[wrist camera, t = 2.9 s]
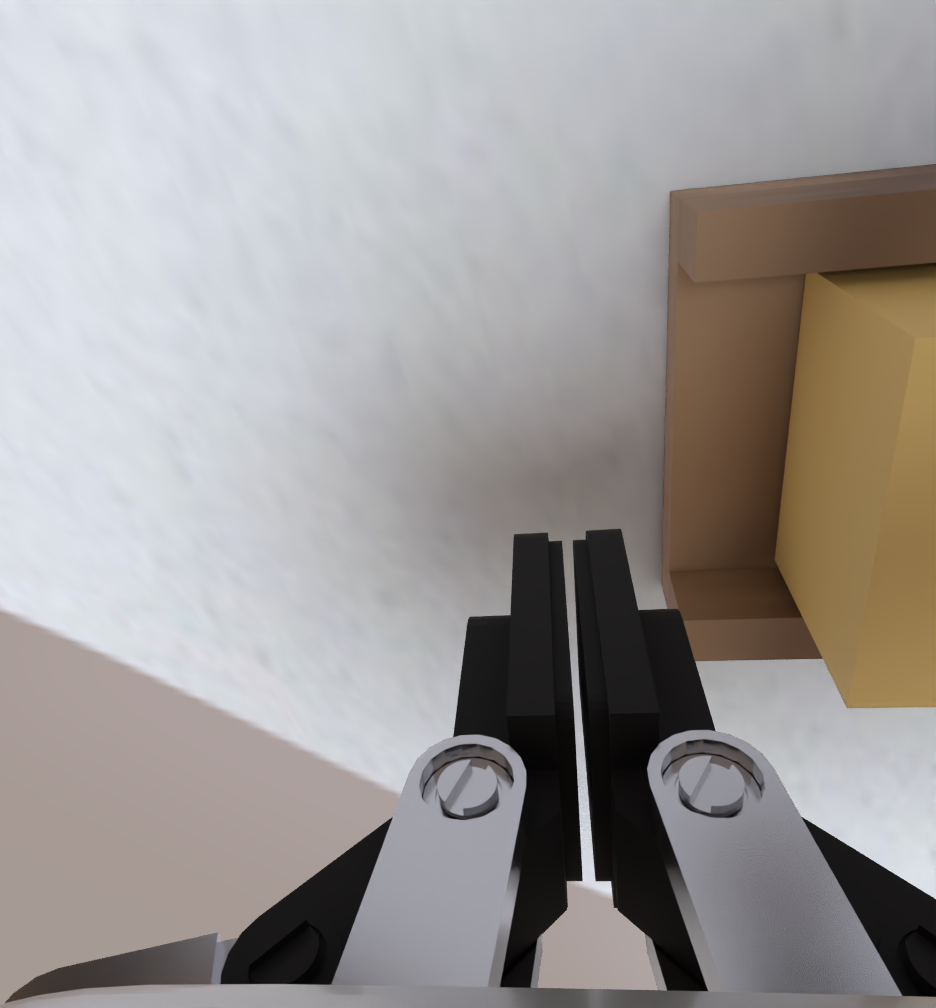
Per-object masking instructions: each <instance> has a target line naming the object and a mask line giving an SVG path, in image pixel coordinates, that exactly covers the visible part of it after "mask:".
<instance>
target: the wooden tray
mask: <svg viewBox="0 0 936 1008" xmlns="http://www.w3.org/2000/svg"><path fill="white" fill-rule="evenodd" d="M924 263H936V164H933V165H923V166H913V167H904V168H894V169H884V170H874V171H864V172H854V173H845V174H835V175H825V176H815V177H805V178H795V179H786V180H776V181H766V182H756V183H746V184H736V185H727V186H717V187H707V188H697V189H687V190H677V191H671V192H670V236H669V280H668V324H667V368H666V413H665V457H664V501H663V545H662V587H663V591H664V596H665V600H666V604H667V608H668V609H678V610H679V611H680V613H681V616H682V619H683V622H684V626H685V629H686V632H687V636H688V639H689V643H690V646H691V649H692V653H693V656H694V660H695V661H722V660H775V659H823V658H822V656H821V654H820V652H819V650H818V648H817V646H816V644H815V641H814V639H813V637H812V635H811V633H810V631H809V629H808V627H807V625H806V623H805V621H804V619H803V617H802V615H801V613H800V611H799V609H798V607H797V605H796V603H795V601H794V599H793V597H792V595H791V592H790V590H789V588H788V586H787V584H786V582H785V580H784V578H783V576H782V574H781V572H780V570H779V568H778V566H777V564H776V562H775V552H776V543H777V534H778V524H779V515H780V506H781V497H782V488H783V479H784V469H785V460H786V451H787V442H788V433H789V424H790V414H791V405H792V396H793V387H794V378H795V369H796V359H797V350H798V341H799V332H800V323H801V314H802V304H803V295H804V286H805V277H806V274H807V273H819V272H830V271H842V270H854V269H866V268H877V267H889V266H901V265H913V264H924Z"/></svg>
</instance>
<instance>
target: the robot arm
mask: <svg viewBox="0 0 936 1008" xmlns="http://www.w3.org/2000/svg"><path fill="white" fill-rule="evenodd" d="M573 557H574V579H575V601H576V623H577V645H578V667H579V685H580V699H581V711H582V723H583V735H584V747H585V759H586V771H587V783H588V796H589V808H590V820H591V832H592V844H593V856H594V868H595V879H596V881H611V884H612V894H613V903H614V908H618V911H619V912H621V913H622V914H623V915H624V916H625V917H627V918H628V919H629V920H630V921H631V922H632V923H633V924H634V925H636V926H637V927H638V928H639V929H640V930H641V931H643V932H644V933H645V938H646V946H647V953H648V956H649V960H650V964H651V967H652V971H653V974H654V978H655V981H656V985H657V988H658V990H613V989H612V990H611V989H560V988H537V986H538V979H539V971H540V965H541V957H542V934H543V933H544V932H545V931H546V930H547V929H548V928H549V927H550V926H551V925H552V924H553V923H554V922H555V921H556V920H557V919H558V918H559V917H560V916H561V915H562V914H563V913H564V912H565V911H566V910H567V907H568V903H567V881H582V861H581V841H580V822H579V802H578V783H577V763H576V744H575V725H574V708H573V693H572V678H571V664H570V650H569V635H568V621H567V607H566V592H565V578H564V564H563V549H562V541H551V542H549V540H548V533H532V534H514V546H513V570H512V594H511V615H506V616H481V617H469V619H468V624H467V631H466V639H465V647H464V655H463V663H462V671H461V679H460V688H459V696H458V704H457V712H456V720H455V728H454V736H453V738H449V739H445V740H443V741H441V742H439V743H438V744H436V745H434V746H432V747H430V748H429V749H428V750H427V751H426V752H424V753H423V754H422V755H421V756H420V757H419V758H418V759H417V760H416V762H415V764H414V766H413V767H412V769H411V771H410V773H409V775H408V778H407V780H406V783H405V786H404V789H403V791H402V794H401V797H400V799H399V802H398V805H397V808H396V810H395V813H394V816H393V817H392V818H391V819H389V820H388V821H387V822H385V823H384V824H382V825H381V826H380V827H378V828H377V829H376V830H375V831H373V832H372V833H370V834H369V835H368V836H366V837H365V838H364V839H362V840H361V841H360V842H358V843H357V844H356V845H354V846H353V847H352V848H350V849H349V850H348V851H346V852H345V853H344V854H342V855H341V856H340V857H338V858H337V859H336V860H334V861H333V862H332V863H330V864H329V865H328V866H326V867H325V868H324V869H322V870H321V871H320V872H318V873H317V874H316V875H314V876H313V877H312V878H310V879H309V880H307V881H306V882H305V883H303V884H302V885H301V886H299V887H298V888H297V889H295V890H294V891H293V892H291V893H290V894H289V895H287V896H286V897H285V898H283V899H282V900H281V901H279V902H278V903H277V904H275V905H274V906H273V907H271V908H270V909H269V910H267V911H266V912H265V913H263V914H262V915H261V916H259V917H258V918H257V919H256V920H255V921H254V922H253V923H252V924H251V925H250V926H248V927H247V929H245V930H244V931H243V932H242V933H241V935H240V936H239V938H235V939H230V940H225V941H221V938H220V936H219V934H218V933H213V934H209V935H204V936H200V937H196V938H191V939H186V940H182V941H178V942H173V943H168V944H164V945H160V946H155V947H151V948H146V949H142V950H137V951H133V952H128V953H124V954H119V955H115V956H111V957H106V958H102V959H97V960H92V961H88V962H84V963H79V964H75V965H71V966H66V967H61V968H58V969H55V970H53V971H50V972H48V973H45V974H43V975H40V976H37V977H36V978H34V979H33V980H31V981H30V982H29V983H27V984H26V985H24V986H23V987H21V988H20V989H19V990H17V991H16V992H14V993H13V994H12V995H11V996H10V998H9V999H8V1000H7V1001H6V1002H5V1003H4V1004H0V1008H936V899H934V898H933V897H931V896H930V895H928V894H926V893H925V892H923V891H921V890H920V889H918V888H917V887H915V886H913V885H912V884H910V883H908V882H907V881H905V880H904V879H902V878H900V877H899V876H897V875H895V874H894V873H892V872H890V871H889V870H887V869H886V868H884V867H882V866H881V865H879V864H877V863H876V862H874V861H873V860H871V859H869V858H868V857H866V856H864V855H863V854H861V853H860V852H858V851H856V850H855V849H853V848H851V847H850V846H848V845H847V844H845V843H843V842H842V841H840V840H838V839H837V838H835V837H834V836H832V835H830V834H829V833H827V832H825V831H824V830H822V829H821V828H819V827H817V826H816V825H814V824H812V823H811V822H809V821H808V820H806V819H804V818H803V817H801V816H800V814H799V812H798V810H797V809H796V807H795V805H794V803H793V801H792V800H791V798H790V796H789V794H788V793H787V791H786V789H785V787H784V786H783V784H782V782H781V780H780V778H779V777H778V775H777V773H776V771H775V770H774V768H773V767H772V765H771V764H770V763H769V762H768V760H767V759H766V758H765V756H764V755H763V754H762V753H761V752H759V751H758V750H757V749H755V748H754V747H753V746H751V745H750V744H749V743H747V742H745V741H743V740H741V739H739V738H736V737H734V736H732V735H730V734H726V733H721V732H716V731H715V728H714V724H713V721H712V717H711V714H710V711H709V707H708V704H707V700H706V697H705V694H704V690H703V687H702V683H701V680H700V677H699V673H698V670H697V666H696V663H695V660H694V656H693V653H692V649H691V646H690V643H689V639H688V636H687V632H686V629H685V626H684V622H683V619H682V616H681V613H680V611H679V610H678V609H659V610H638V607H637V602H636V598H635V593H634V588H633V583H632V579H631V574H630V569H629V564H628V560H627V555H626V550H625V545H624V541H623V536H622V532H621V529H609V530H590V531H586V540H573Z"/></svg>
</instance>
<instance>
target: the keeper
mask: <svg viewBox="0 0 936 1008" xmlns="http://www.w3.org/2000/svg"><path fill="white" fill-rule="evenodd" d="M775 562H776V564H777V566H778V568H779V570H780V572H781V574H782V576H783V578H784V580H785V582H786V584H787V586H788V588H789V590H790V592H791V595H792V597H793V599H794V601H795V603H796V605H797V607H798V609H799V611H800V613H801V615H802V617H803V619H804V621H805V623H806V625H807V627H808V629H809V631H810V633H811V635H812V637H813V639H814V641H815V644H816V646H817V648H818V650H819V652H820V654H821V656H822V658H823V660H824V662H825V664H826V666H827V668H828V670H829V672H830V674H831V676H832V678H833V680H834V682H835V684H836V686H837V688H838V691H839V693H840V695H841V697H842V699H843V701H844V703H845V705H846V707H847V708H891V707H936V263H924V264H913V265H901V266H889V267H877V268H866V269H854V270H842V271H830V272H819V273H807V274H806V277H805V286H804V295H803V304H802V314H801V323H800V332H799V341H798V350H797V359H796V369H795V378H794V387H793V396H792V405H791V414H790V424H789V433H788V442H787V451H786V460H785V469H784V479H783V488H782V497H781V506H780V515H779V524H778V534H777V543H776V552H775Z"/></svg>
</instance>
